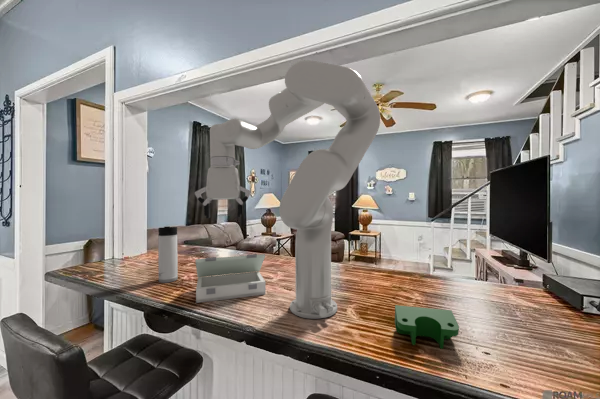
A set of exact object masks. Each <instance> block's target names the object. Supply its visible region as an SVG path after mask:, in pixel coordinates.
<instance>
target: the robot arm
mask: <svg viewBox="0 0 600 399" xmlns="http://www.w3.org/2000/svg"><path fill="white" fill-rule="evenodd" d="M284 84H285V87H286V88H284V89H283V90H281V91H279V92H278V93H276V94H275V95H273V96H271V97H270V99H269V100H268V109H269V111H270V115H269V117H267V119H264V121H262V122H260V123H258V124H257V125H254V124H252V123H250V122H247V121H244V120H242V119H239V118H231V119H227V121H225V122H222V123H217V124H216V123H215V124H212V125H211V127H210V128H209V146H210V148H209V149H210V150H209V151H210V152H209V156H210V160H209V161H210V167H209V168H208V169H207V175H206V186H204V187H202V188H200V189H198V190H196V191H195V192H194V195H195V198H196V199H197V200H198V201H199V203H201V204H202V205H203V211H204V212H203V213H204V216H205V218H206V219H210V218H211V205H210V203H212V201H213V200H218V201H219V200H235V201H236V202H237V203H238V204H237V217H238V218H241V217H242V215H243V213H244V209H243V206H244V204H245V203H246V202H247V201H248V200H249V197H250V196H251V194H252V190H249V189H247V188H245V187H244V186H241V184H240V174H239V170H238V168H236V166H240V160H237V159H236V157H235V156H236V155H235V152H236V151H235V146H239V147H243V148H246V149H249V150H256V149H260V148H263V147H264V146H266V145H268V144H270V143H272V142H273V141H275V140H276V139H277V138H279V136H280V135H281V134H282V133H283V131H284V130H285V127H286V126H287V125H289V124H290V123H293V122H294V121H296V120H298V119H300V118H301V117H302V118H303V116H305V115H308V114H309V113H311V112H312V111H314V110H316V109H318V108H320V107H321V106H323V105H324V104H326V105H330V106H331V107H333V108H334V109H335V110H336V111H337V112H338V113H339V114H340V115H342V117H343V118H345V121H346V122H345V124H344V126H343V127H341V129H339V131H338V132H337V134H336V136H335V137H334V139H333V141H332V143H331V145H330V146H329V148H328V149H325V148H320V149H316V150H314V151H312V152H310V153H309V154H307V155H306V156H305V157H304V158H303V160H302V161H301V163H300V164H299V166H298V168H297V170H296V172H295V173H294V175H293V177H292V178H291V180H290V182H289V184H288V186H287V188H286V190H285V191H284V193H283V195H282V197H281V200H280V202H279V207H278V208H279V209H278V210H279V212H278V213H279V216H280V219H281V221H282V223H283V224H284V225H285V226H287V227H288V228H290V229H293V230H296V234H295V244H294V246H295V249H294V250H295V252H294V254H295V256H294V257H295V299H293V300H292V301H291V302H290V303H289V310H290V312H291V313H292V314H294V315H295V316H297V317H300V318H303V319H310V320H311V319H312V320H315V319H316V320H317V319H324V318H328V317H332V316H333V315H335V314H336V312H337V311H338V304H337V302H336V301H335V300H334V299H332V229H333V228H332V226H333V221H334V218H333V217H334V207H333V206H334V205H333V203H332V201H331V199H330V197H329V195H330V193H331V192H337V191H340V190H342V189H344V188H346V186H347V184H348V183H349V181H350V180H351V178H352V177H353V174H354V173H355V172H356V170H357V168H358V166H359V165H360V163H361V161H362V160H363V158H364V156H365V154H366V153H367V151H368V150H369V148H370V146H371V145H372V143H373V142H374V139H375V137H376V136H377V134H378V132H379V128H380V125H381V112H380V109H379V107H378V105H377V102H376V101H375V99H374V97H373V95H372V94H371V92H370V90H369V88H368V86H367V85H366V83H365V80H363V78H362V76H361V75H360V74H359V73H358V72H357V71H356V70H354V69H352V68H351V67H347V66H344V65H343V66H342V65H338V64H334V63H333V64H332V63H328V62H323V61H318V60H317V61H316V60H309V59H307V60H306V59H304V60H299V61H297V62H295V63H293V64H292V65H291V66H290V67H289V68H288V69H287V71H286V72H285V76H284ZM241 192H243V193H245V196H244V197H243V198H242V199H241V198H240V197H241ZM203 193H206V199H205V198H204V197H203V196H202V194H203Z"/></svg>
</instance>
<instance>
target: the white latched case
mask: <svg viewBox="0 0 600 399" xmlns="http://www.w3.org/2000/svg"><path fill="white" fill-rule="evenodd" d="M266 284H267V283H266V280H265V278H264V277H263V275H262V274H261V272H260V271H258V272H247V273H237V274H226V275H216V276H205V277H198V276H197V283H196V288H195V291H196V292H195V299H196V300H195V303H196V304H198V303H205V302H214V301H221V300H229V299H230V300H231V299H237V298H238V299H239V298H248V297H255V296H263V295H266V290H267V289H266Z"/></svg>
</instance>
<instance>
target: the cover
mask: <svg viewBox="0 0 600 399" xmlns="http://www.w3.org/2000/svg"><path fill="white" fill-rule="evenodd" d="M265 258H266V255H265V254H264V253H263V254H257V253H254V254H253V253H252V254H246V255H238V256H236V255H235V256H224V257H223V256H222V257H217V256H213V257H205V258H196V259H195V268H196V276H197V278H198V277H208V276H218V275H229V274H239V273H250V272H260V271H261V268H262V266H263V264H264V260H265Z"/></svg>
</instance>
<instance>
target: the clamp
mask: <svg viewBox="0 0 600 399" xmlns="http://www.w3.org/2000/svg"><path fill="white" fill-rule="evenodd" d="M394 325H395V326H394V327H395V330H396V332H397V333H399V334H401V335H407V336H410V341H411V345H412V346H416V342H417V341H416V339H417V337H427V338H430V339H434V340H435V341H436V342H437V344H438V345H439V349H444V342H445V340H450V339H451V338H453V337H458V335H459V332H460V326H459V323H458V321H457V319H456V317H455V315H454V313H453V311H452V310H449V309H440V308H439V309H438V308H428V307H421V306H419V307H418V306H409V305H398V304H396V305H394Z"/></svg>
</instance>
